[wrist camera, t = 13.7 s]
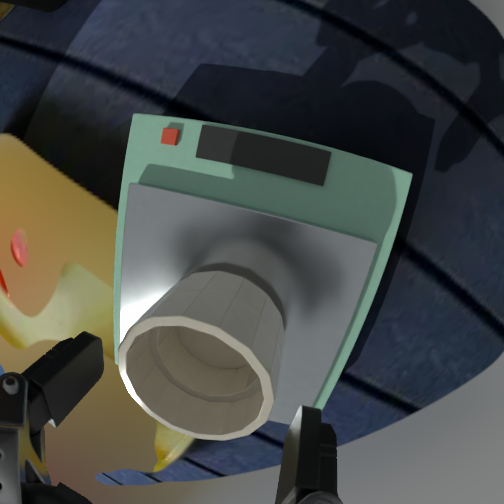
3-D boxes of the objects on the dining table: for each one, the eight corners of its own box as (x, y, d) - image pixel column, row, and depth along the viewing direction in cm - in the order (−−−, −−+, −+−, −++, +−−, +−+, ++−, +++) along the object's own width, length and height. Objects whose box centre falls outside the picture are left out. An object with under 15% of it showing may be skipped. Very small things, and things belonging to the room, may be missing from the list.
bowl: (300, 286, 14) (295, 347, 9) (268, 385, 16) (252, 454, 11) (173, 252, 14) (117, 292, 10) (162, 352, 16) (121, 408, 12)
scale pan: (374, 239, 13) (378, 244, 13) (301, 418, 17) (301, 427, 16) (137, 181, 15) (128, 182, 14) (126, 364, 18) (120, 370, 18)
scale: (395, 171, 15) (415, 174, 12) (314, 396, 20) (313, 428, 17) (158, 118, 17) (130, 112, 13) (134, 342, 22) (112, 366, 18)
